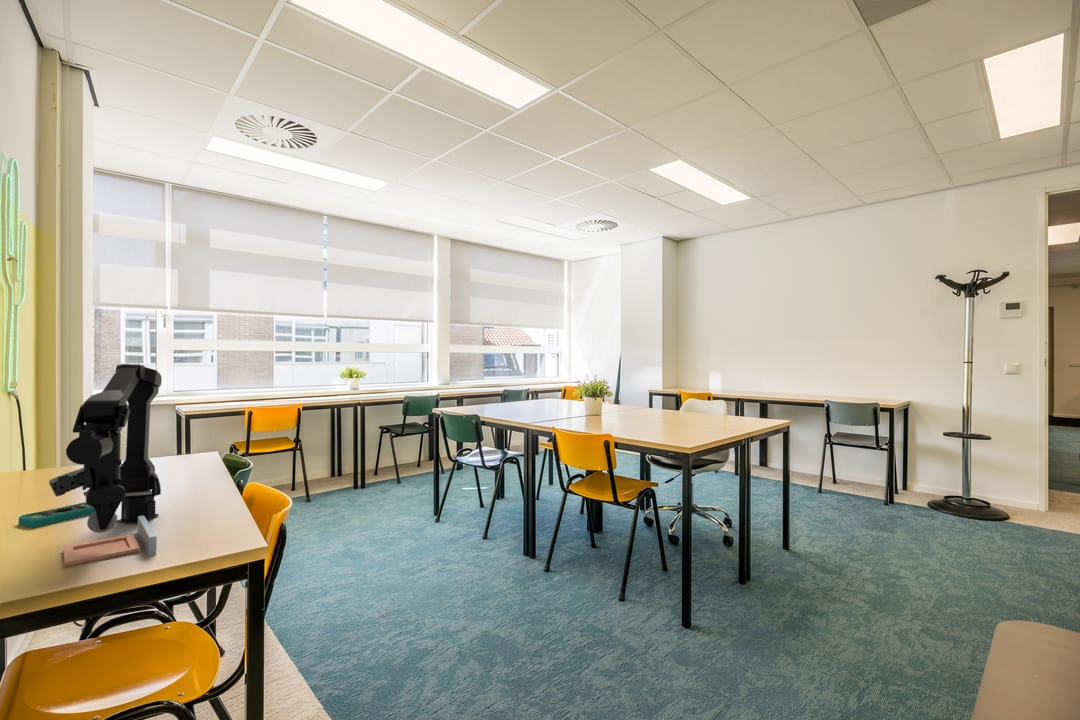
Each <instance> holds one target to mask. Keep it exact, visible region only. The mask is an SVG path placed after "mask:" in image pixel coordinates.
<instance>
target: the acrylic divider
mask: <svg viewBox="0 0 1080 720" xmlns="http://www.w3.org/2000/svg"><path fill="white" fill-rule="evenodd" d="M137 535H138V536H139V539H140V541H141V542H142V545H143V547H144V549H145V551H146V553H147V555H148V556H149V557H152V556H156V555H157V540H158V539H157V537H158V536H157V534H156V533H155V531H154V529H153V528H152V526H151V525H150V522H149V520H146V518H145V516H138V523H137Z"/></svg>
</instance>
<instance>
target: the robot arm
mask: <svg viewBox="0 0 1080 720" xmlns="http://www.w3.org/2000/svg"><path fill="white" fill-rule="evenodd" d="M162 380H163V379H162V375H161V373H160V372H159V371H158V370H156V369H153V368H149V367H147V366H145V365H144V364H140V363H121V364H117V365H116V368H115V372H114V374H113V375H112V377H111V378H110V379H109V381H108V383H107V384H106V385H105V387H104V388H103V390H102V391H101V392H98V393H96V394H92V395H90V396H89V397H88V398H87V399H86V400H85V401H84V402H83V404H81V405H80V407H79V410H78V412H77V413H78V414H77V415H76V418H75V422H74V425H73V428H72V433H73V434H74V433H77V434H78V437H76V438H74V439H73V440H71V441H70V443H68V445H67V447H66V449H65V455H66V457H67V459H68V460H69V461H71V462H72V463H74V464H76V465H81V466H82V465H83V467H82V468H79V469H75V470H73V471H69V472H66V473H64V474H61V475H58V476H56V477H53V478H52V479H49V480H48V485H49V487H50V488H51V490H52V492H53V494H54V496H55V497H61V496H63V495H65V494H66V493H68V492H70V491H74V490H76V489H79V488H81V489H82V491H84V492H83V496H85V497H84V498H85V502H86V504H87V505H90V506H92V507H93V508H94V509H95V512H96V515H97V519H98V524H99V528H100V530H105V529H107V527H108V525H109V523H110V522H111V520H112V518H113V516H114V514H115V513H116V512H117V510H118V508H119V506H120V504H121V507H120V508H121V512H120V513H121V515H120V516H121V517H120V519H117V522H116V524H117V523H118V524H119V523H120V524H138V516H145V518H146V520H147V521H149V520H151V519H155V518H157V517H158V516H159V513H156V500H155V497H157V496H160V495H161V494H162V488H161V487H162V486H161V483H160V479H159V476H158V474H157V473H156V467H155V465H154V464H153V461H151V459H150V458H149V442H150V420H151V419H150V418H151V403H152V402H153V400H154V399H155V398H156V396H158V394H159V389H160V387H161V386H162V382H163V381H162ZM127 403H128V404H127ZM126 426H127V427H126ZM124 427H125V428H126V448H125V449H126V450H125V459H124V461H123V462H122V459H121V449H122V447H121V446H122V445H121V444H122V442H121V441H122V440H121V439H122V434H121V432H122V429H123V428H124ZM87 489H88V490H87Z"/></svg>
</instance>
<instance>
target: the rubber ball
mask: <svg viewBox="0 0 1080 720" xmlns="http://www.w3.org/2000/svg"><path fill="white" fill-rule="evenodd" d="M117 520H118V515H117V513H116V512H115V514H114V516H113V518H112V520H111V522H110V523H109V525H108V527H107V529H105V530H100V528H99V524H98V519H97V515H96V512H94V513H93V514H91V515H89V517H88V518H87V522H86V523H87V527H88V529H89V530H90V531H92V532H93V533H99V534H100V533H106V532H109V531H110V530H111V529H113V528H114V527H115V526H116V525H117V523H116V522H117Z"/></svg>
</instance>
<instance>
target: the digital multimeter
mask: <svg viewBox="0 0 1080 720" xmlns="http://www.w3.org/2000/svg"><path fill="white" fill-rule="evenodd" d="M94 512H95V509H94V508H93V507H92V506H90V505H87V504H86V501H85V502H84V501H83V502H80V503H75V504H71V505H67V506H62V507H56V508H52V509H47V510H43V511H42V510H41V511H37V512H32V513H25V514H21V516H19V517H18V525H19V526H21V525H22V526H21V527H24V526H25V528H29V527H30V529H37V528H41V526H42V527H45V526H49V525H53V524H58V523H62V522H66V521H70V520H75V519H79V518H83V517H84V518H85V517H88V516H89V517H90V516H91V514H93V513H94Z"/></svg>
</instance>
